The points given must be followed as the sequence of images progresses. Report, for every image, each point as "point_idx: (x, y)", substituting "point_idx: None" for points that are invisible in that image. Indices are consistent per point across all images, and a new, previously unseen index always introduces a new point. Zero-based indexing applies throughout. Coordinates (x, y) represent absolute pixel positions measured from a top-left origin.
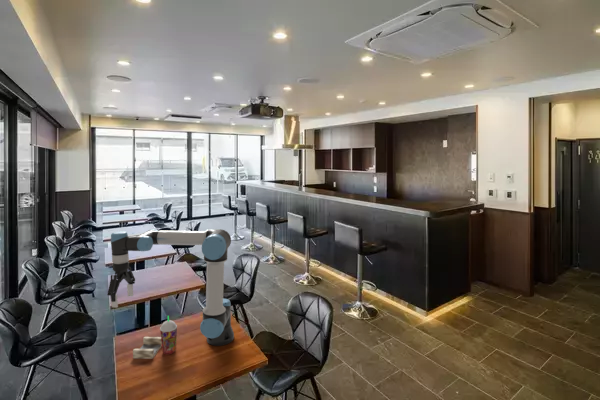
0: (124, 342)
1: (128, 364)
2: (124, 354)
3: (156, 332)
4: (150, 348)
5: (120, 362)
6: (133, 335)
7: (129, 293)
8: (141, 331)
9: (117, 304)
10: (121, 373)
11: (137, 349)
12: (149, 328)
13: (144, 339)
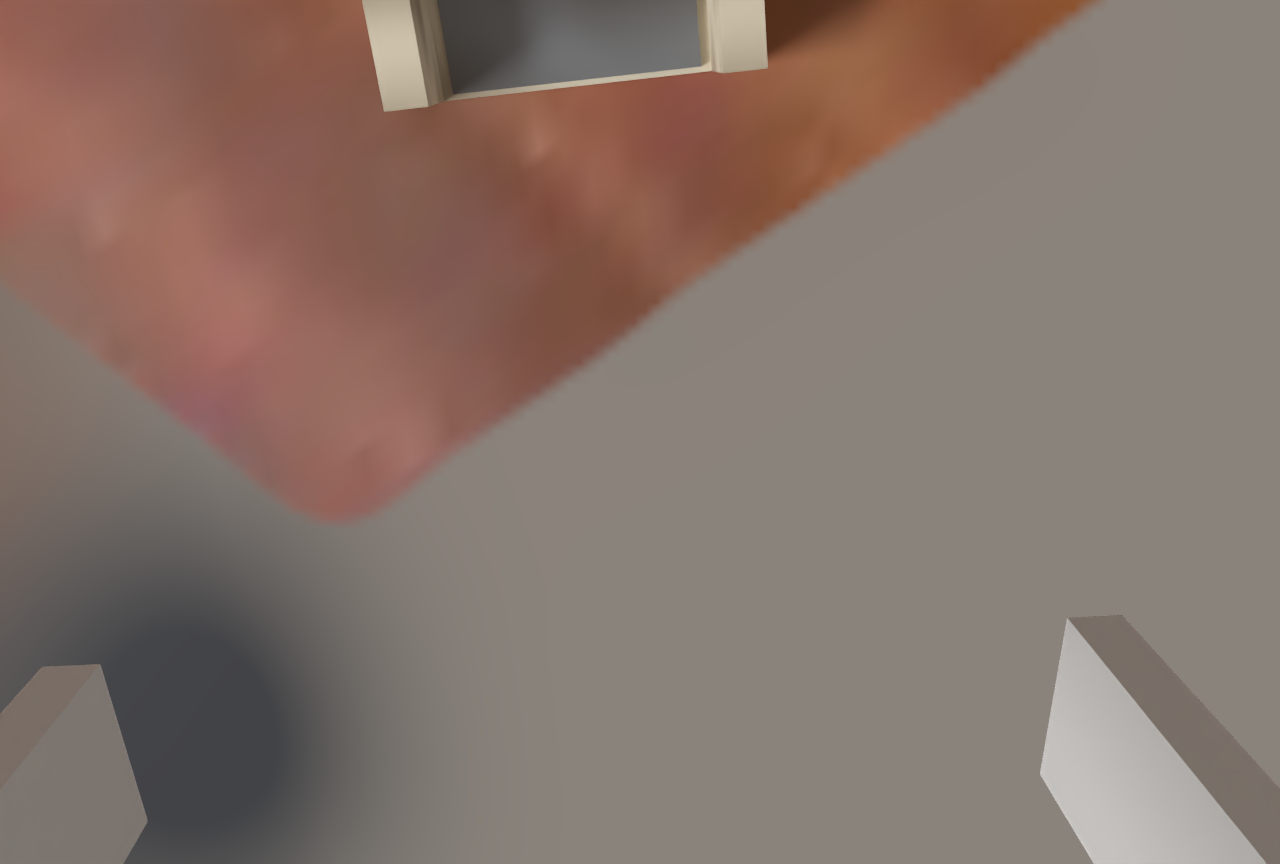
0: (429, 400)
1: (879, 47)
2: (676, 236)
3: (71, 110)
4: None
5: (842, 179)
6: (250, 389)
7: (74, 845)
8: (126, 345)
9: (1135, 678)
10: (1061, 21)
11: (738, 6)
12: (13, 281)
13: (429, 84)
